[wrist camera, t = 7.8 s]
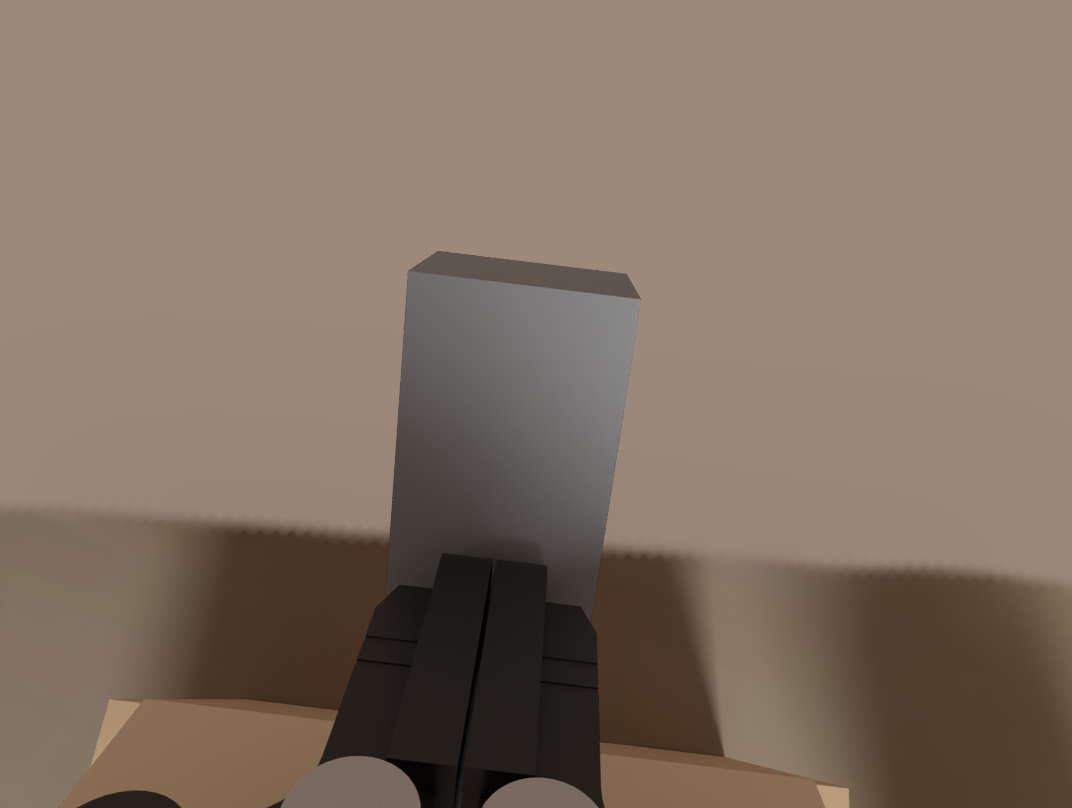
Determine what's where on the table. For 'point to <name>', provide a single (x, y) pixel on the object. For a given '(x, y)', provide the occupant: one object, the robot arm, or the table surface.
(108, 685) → the table surface
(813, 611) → the table surface
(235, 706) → the carton
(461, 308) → the flap
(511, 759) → the robot arm
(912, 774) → the table surface
